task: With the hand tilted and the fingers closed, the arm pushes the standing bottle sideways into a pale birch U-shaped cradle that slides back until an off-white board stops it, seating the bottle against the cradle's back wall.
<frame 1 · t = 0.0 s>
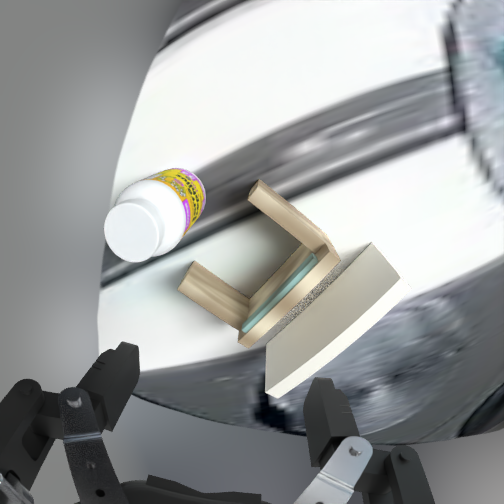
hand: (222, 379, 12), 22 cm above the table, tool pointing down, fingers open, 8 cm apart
cradle: (253, 265, 30), point 4 cm above the table, slide at 0.0 cm
backstop board: (321, 302, 36), on the table
supplement bottle: (179, 195, 31), on the table
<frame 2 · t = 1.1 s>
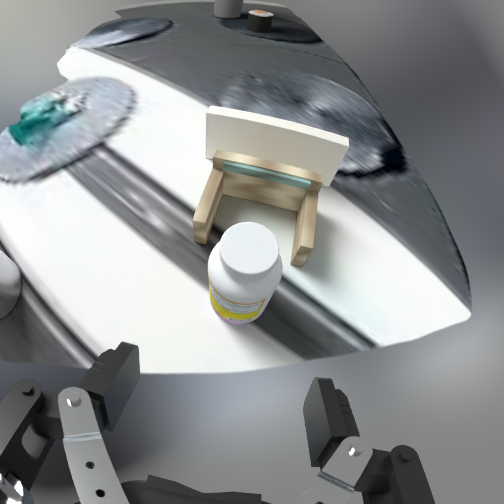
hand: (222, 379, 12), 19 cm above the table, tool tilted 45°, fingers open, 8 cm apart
cradle: (259, 207, 36), point 3 cm above the table, slide at 0.0 cm
backstop board: (268, 167, 44), on the table
sushi: (258, 29, 79), on the table
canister: (226, 16, 86), on the table
supplement bottle: (237, 299, 34), on the table
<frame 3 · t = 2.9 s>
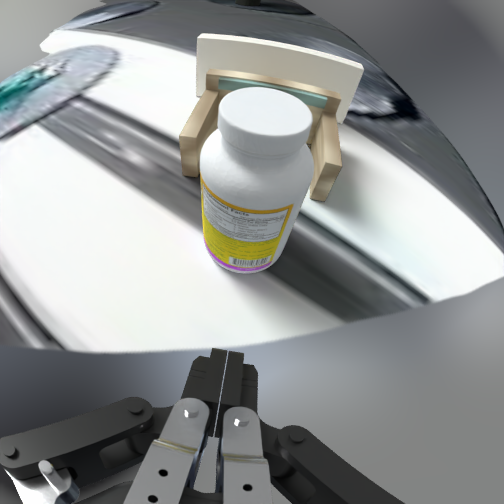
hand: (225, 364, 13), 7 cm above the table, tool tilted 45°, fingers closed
cradle: (265, 128, 26), point 3 cm above the table, slide at 0.0 cm
backstop board: (270, 103, 35), on the table
sushi: (247, 4, 70), on the table
supplement bottle: (243, 241, 24), on the table
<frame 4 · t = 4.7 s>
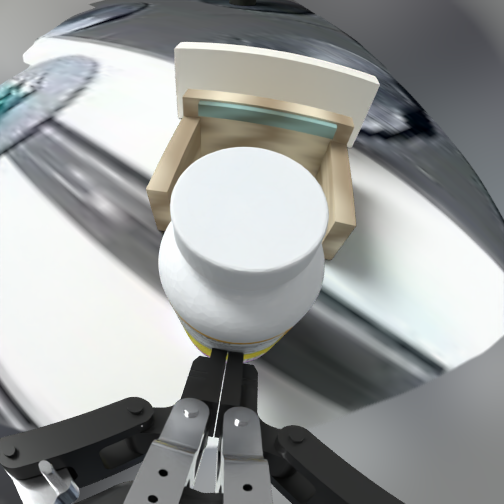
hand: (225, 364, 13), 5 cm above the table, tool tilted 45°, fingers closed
cradle: (258, 167, 22), point 4 cm above the table, slide at 0.0 cm
backstop board: (266, 124, 30), on the table
sushi: (242, 4, 66), on the table
supplement bottle: (232, 318, 19), on the table, touching gripper
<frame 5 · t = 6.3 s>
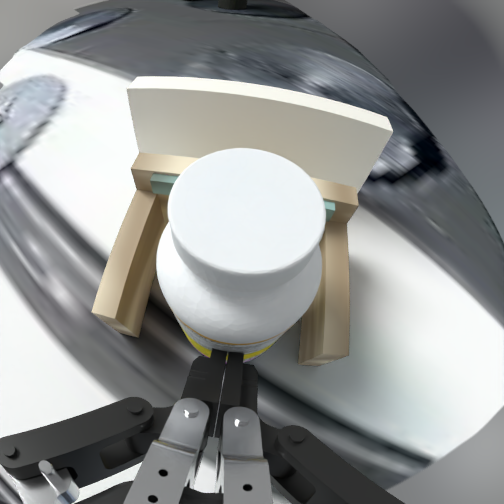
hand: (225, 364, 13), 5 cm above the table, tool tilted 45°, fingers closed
cradle: (230, 264, 17), point 3 cm above the table, slide at 0.0 cm
backstop board: (248, 174, 26), on the table
sushi: (232, 7, 61), on the table
supplement bottle: (230, 318, 20), on the table, touching gripper
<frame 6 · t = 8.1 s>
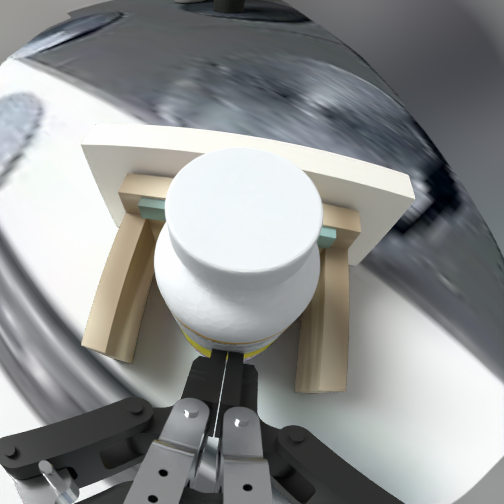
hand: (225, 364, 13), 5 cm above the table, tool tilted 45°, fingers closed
cradle: (224, 293, 16), point 3 cm above the table, slide at 4.7 cm, touching supplement bottle
backstop board: (236, 234, 23), on the table
sushi: (228, 11, 58), on the table
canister: (190, 1, 65), on the table
supplement bottle: (229, 318, 20), on the table, touching cradle, gripper
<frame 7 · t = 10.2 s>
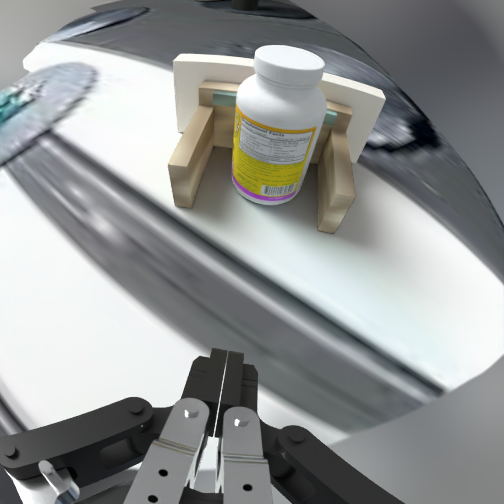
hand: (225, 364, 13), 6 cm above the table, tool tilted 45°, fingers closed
cradle: (266, 149, 24), point 3 cm above the table, slide at 4.8 cm
backstop board: (268, 138, 30), on the table
sushi: (244, 8, 66), on the table
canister: (208, 0, 73), on the table
supplement bottle: (265, 182, 27), on the table
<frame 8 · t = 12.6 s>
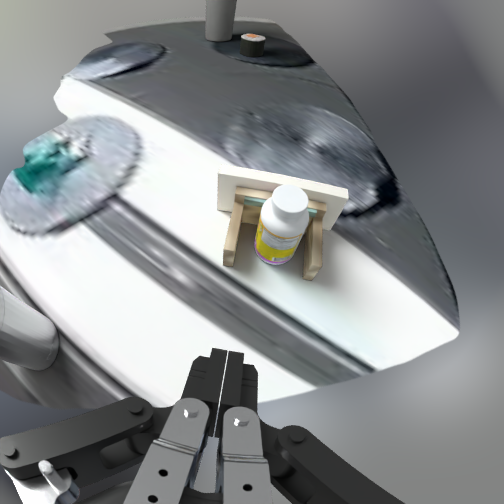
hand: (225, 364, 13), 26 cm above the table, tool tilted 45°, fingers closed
cradle: (275, 233, 43), point 4 cm above the table, slide at 4.8 cm
backstop board: (275, 215, 50), on the table
sushi: (251, 53, 86), on the table
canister: (218, 39, 93), on the table
supplement bottle: (273, 248, 47), on the table
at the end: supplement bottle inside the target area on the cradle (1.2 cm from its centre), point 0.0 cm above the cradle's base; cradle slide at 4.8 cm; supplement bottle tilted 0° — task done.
